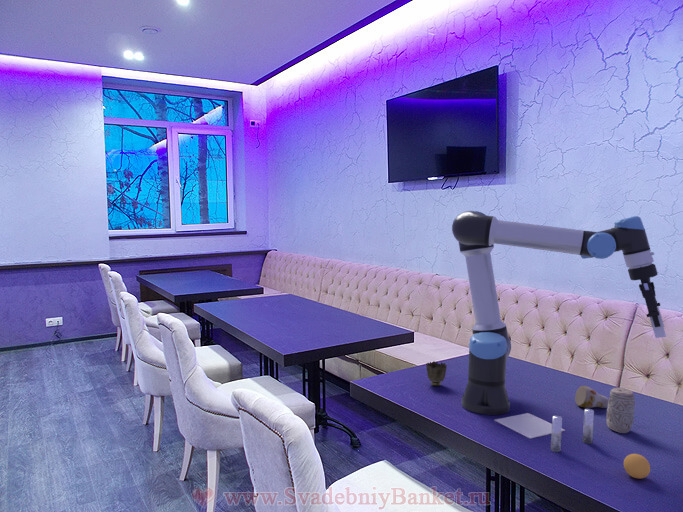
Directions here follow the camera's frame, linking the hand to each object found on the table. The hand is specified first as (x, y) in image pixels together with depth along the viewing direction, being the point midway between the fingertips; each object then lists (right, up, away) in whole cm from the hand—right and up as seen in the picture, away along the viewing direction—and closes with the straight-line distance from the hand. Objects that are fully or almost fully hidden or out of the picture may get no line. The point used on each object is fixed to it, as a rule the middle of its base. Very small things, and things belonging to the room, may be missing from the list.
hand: (660, 332), depth 154 cm
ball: (-28, -27, -35) cm, 52 cm away
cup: (-64, -24, +30) cm, 74 cm away
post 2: (-31, -28, -16) cm, 45 cm away
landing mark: (-43, -27, -6) cm, 51 cm away
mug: (-16, -27, +11) cm, 33 cm away
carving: (-17, -28, -7) cm, 33 cm away
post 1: (-42, -28, -22) cm, 55 cm away
